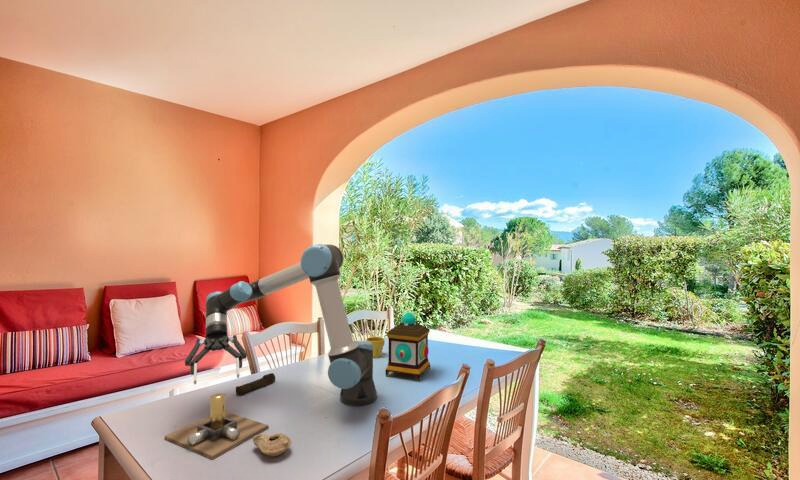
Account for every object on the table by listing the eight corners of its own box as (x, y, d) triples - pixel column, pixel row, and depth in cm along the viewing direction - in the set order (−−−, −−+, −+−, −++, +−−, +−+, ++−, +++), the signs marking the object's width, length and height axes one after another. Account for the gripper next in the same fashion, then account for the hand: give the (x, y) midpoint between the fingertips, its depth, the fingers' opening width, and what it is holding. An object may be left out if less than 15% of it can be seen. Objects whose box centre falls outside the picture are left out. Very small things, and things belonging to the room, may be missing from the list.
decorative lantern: (381, 377, 176) (381, 314, 177) (397, 364, 195) (397, 307, 195) (421, 383, 169) (421, 317, 169) (433, 370, 187) (434, 310, 187)
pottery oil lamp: (263, 439, 119) (274, 418, 120) (286, 463, 113) (298, 441, 114) (242, 442, 111) (255, 420, 112) (267, 468, 105) (279, 444, 106)
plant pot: (383, 359, 204) (383, 341, 204) (365, 358, 204) (365, 341, 204) (384, 353, 214) (384, 336, 214) (367, 353, 215) (367, 336, 215)
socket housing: (247, 433, 121) (247, 424, 121) (209, 454, 109) (209, 443, 109) (220, 424, 127) (220, 415, 127) (182, 442, 116) (182, 432, 116)
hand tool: (240, 397, 153) (240, 386, 153) (234, 394, 155) (235, 383, 155) (278, 383, 168) (279, 373, 168) (273, 381, 171) (273, 371, 171)
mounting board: (268, 428, 127) (268, 425, 127) (212, 459, 108) (212, 456, 108) (222, 412, 138) (222, 410, 138) (164, 439, 119) (164, 435, 119)
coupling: (227, 431, 123) (228, 394, 123) (215, 437, 119) (216, 399, 119) (219, 427, 125) (219, 392, 125) (206, 433, 121) (207, 397, 121)
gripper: (250, 329, 152) (254, 378, 138) (179, 336, 140) (176, 390, 127) (251, 319, 147) (255, 368, 133) (178, 325, 135) (175, 380, 122)
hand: (217, 379), depth 130 cm, fingers open, 13 cm apart
